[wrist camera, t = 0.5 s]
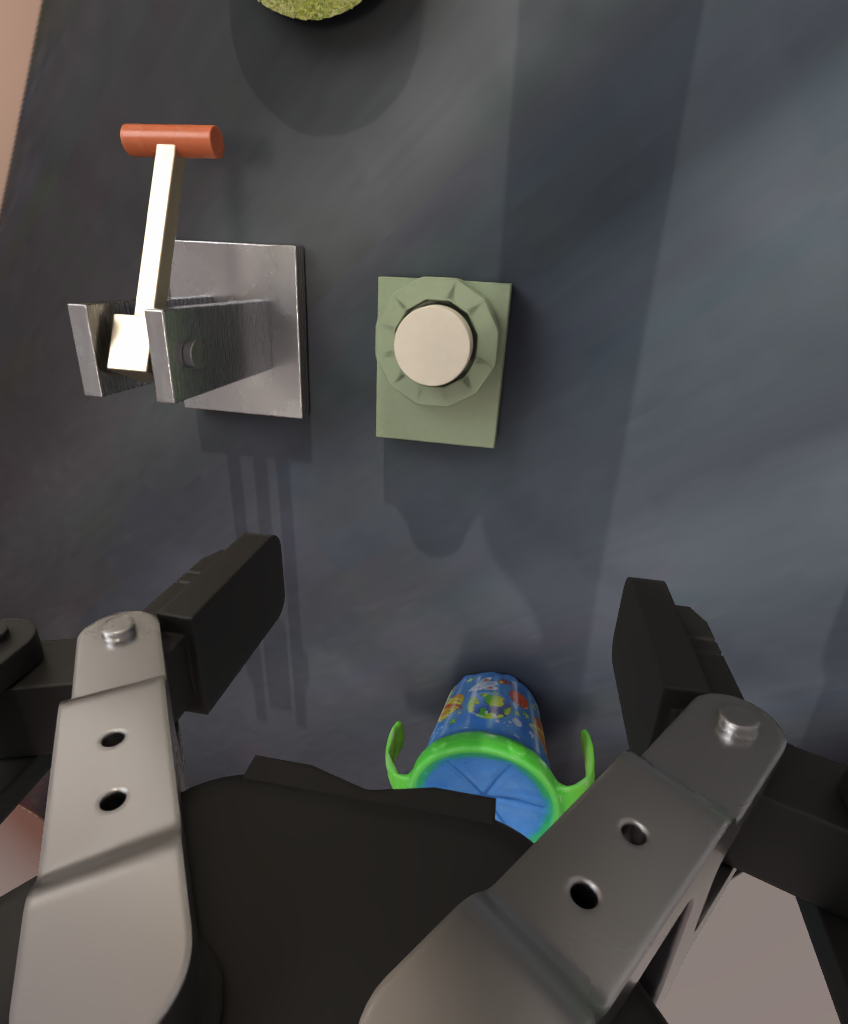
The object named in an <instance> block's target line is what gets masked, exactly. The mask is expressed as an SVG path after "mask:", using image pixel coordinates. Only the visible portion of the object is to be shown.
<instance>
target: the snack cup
mask: <svg viewBox="0 0 848 1024" xmlns="http://www.w3.org/2000/svg"><path fill="white" fill-rule="evenodd" d="M580 737H581V745H582V750H583V755H584V758H585V773H586V777H585V778H584V779H582V780H581V781H579V782H578V783H576V784H575V785H571V786H565V785H563V784H561V783H559V782H558V781H557V780H556V778H555V777H554V775H553V773H552V772H551V769H550V763H549V759H548V753H547V748H546V743H545V738H544V733H543V728H542V724H541V721H540V714H539V710H538V706H537V703H536V702H535V699H534V697H533V696H532V694H531V692H530V691H529V690H528V688H527V687H525V685H523V684H522V683H520V682H519V681H518V680H517V679H516V678H515V677H513V676H511V675H508V674H505V675H503V674H499V673H496V672H485V673H479V674H476V675H466V676H464V678H463V679H462V680H461V681H460V682H459V683H458V684H457V685H456V686H455V687H454V688H453V689H452V691H451V692H450V694H449V696H448V699H447V701H446V703H445V705H444V708H443V710H442V712H441V715H440V717H439V719H438V722H437V724H436V727H435V729H434V731H433V733H432V735H431V738H430V741H429V743H428V746H427V748H426V749H425V750H424V751H423V752H422V753H421V755H420V756H419V758H418V759H417V761H416V763H415V765H414V768H413V770H412V771H411V772H410V773H409V774H405V775H400V774H398V772H397V770H396V768H395V766H394V763H395V761H396V759H397V756H398V754H399V753H400V751H401V749H402V747H403V743H404V739H405V738H404V728H403V725H402V723H401V722H399V721H398V722H396V723H395V725H394V726H393V727H392V729H391V732H390V734H389V737H388V741H387V746H386V757H385V760H386V767H387V771H388V777H389V780H390V783H391V786H392V788H393V789H407V788H428V787H436V788H441V789H447V790H452V791H458V792H464V793H469V794H475V795H480V796H486V797H492V798H496V811H495V820H497V821H499V822H501V823H504V824H506V825H508V826H509V827H511V828H513V829H515V830H516V831H518V832H520V833H521V834H523V835H524V836H525V837H527V838H528V839H529V840H531V841H532V842H533V843H535V842H536V841H537V840H538V839H539V838H540V837H541V836H542V835H543V834H544V833H545V832H546V831H547V830H548V829H549V828H550V827H551V826H552V825H553V824H554V823H555V822H556V821H557V820H558V819H559V818H560V817H561V816H562V815H563V814H564V812H565V811H566V810H567V809H568V808H569V807H570V806H571V805H572V804H573V803H574V802H575V801H576V800H577V799H578V798H579V797H580V796H581V795H582V794H583V793H584V792H585V791H586V790H587V789H588V788H589V787H590V786H591V785H592V784H593V783H594V778H595V772H594V763H595V759H594V750H593V745H592V741H591V738H590V735H589V733H588V731H587V730H586V729H583V730H582V731H581V736H580Z"/></svg>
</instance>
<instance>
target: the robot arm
mask: <svg viewBox="0 0 848 1024" xmlns="http://www.w3.org/2000/svg"><path fill="white" fill-rule="evenodd" d="M284 598H285V589H284V577H283V565H282V553H281V544H280V540H279V538H278V537H277V536H274V535H265V534H256V533H244V534H242V535H241V536H240V537H239V538H238V539H237V540H236V541H235V542H234V543H233V544H231V545H230V546H229V547H228V548H227V549H226V550H220V551H218V552H216V553H214V554H211V555H209V556H207V557H205V558H203V559H201V560H200V561H199V562H198V563H197V564H196V565H194V566H193V567H192V568H191V569H190V570H189V572H188V573H185V574H184V575H183V576H182V577H181V578H180V579H178V582H177V583H174V584H173V585H172V586H170V587H169V588H168V589H167V590H166V591H165V592H164V593H162V594H161V595H160V596H159V597H158V598H157V599H156V600H154V601H153V602H152V603H151V604H150V605H149V606H148V607H146V608H145V609H144V610H143V611H142V612H141V611H128V612H121V613H116V614H112V615H109V616H106V617H104V618H101V619H99V620H97V621H95V622H93V623H92V624H90V625H89V626H87V627H86V628H85V629H84V630H83V631H82V632H81V633H80V635H79V636H78V639H64V640H50V641H40V638H39V635H38V632H37V628H36V625H35V624H34V623H33V622H32V621H30V620H27V619H23V618H5V619H0V824H1V823H2V822H3V821H4V820H5V819H6V817H7V816H8V815H9V814H10V813H11V812H12V811H13V810H14V809H15V807H16V806H17V805H18V804H19V803H20V802H21V801H22V800H23V798H24V797H25V796H26V795H27V794H28V793H29V792H30V791H31V789H32V788H33V787H34V786H35V785H36V784H37V783H38V782H39V780H40V779H41V778H42V777H43V776H44V775H45V774H46V773H47V772H48V770H49V769H50V768H51V772H50V781H49V789H48V797H47V805H46V813H45V822H44V830H43V838H42V847H41V855H40V863H39V871H38V875H37V876H36V877H34V878H32V879H30V880H29V881H27V882H25V883H24V884H22V885H20V886H19V887H17V888H15V889H13V890H11V891H10V892H8V893H6V894H5V895H3V896H1V897H0V1024H668V1023H667V1021H666V1020H665V1018H664V1017H663V1015H662V1014H661V1013H660V1011H659V1009H660V1007H661V1005H662V1003H663V1002H664V1000H665V998H666V996H667V994H668V992H669V990H670V988H671V986H672V985H673V983H674V980H675V978H676V976H677V974H678V972H679V970H680V967H681V966H682V964H683V962H684V960H685V958H686V955H687V954H688V952H689V950H690V948H691V946H692V944H693V943H694V941H695V939H696V938H697V936H698V934H699V933H700V931H701V929H702V928H703V926H704V924H705V922H706V921H707V919H708V917H709V916H710V914H711V912H712V910H713V909H714V907H715V905H716V904H717V902H718V900H719V898H720V897H721V895H722V893H723V892H724V890H725V888H726V887H727V885H728V883H729V881H730V880H731V878H732V876H733V875H734V873H735V871H736V869H738V870H741V871H743V872H745V873H747V874H749V875H751V876H753V877H756V878H758V879H760V880H762V881H764V882H767V883H768V884H771V885H773V886H775V887H777V888H779V889H781V890H783V891H786V892H788V893H790V894H792V895H794V896H796V899H797V902H798V904H799V907H800V910H801V913H802V916H803V919H804V922H805V924H806V927H807V930H808V933H809V936H810V939H811V941H812V944H813V947H814V950H815V953H816V955H817V958H818V961H819V964H820V967H821V969H822V972H823V975H824V978H825V981H826V983H827V986H828V989H829V992H830V995H831V998H832V1000H833V1003H834V1006H835V1009H836V1012H837V1014H838V1017H839V1020H840V1023H841V1024H848V765H847V766H845V765H842V764H840V763H837V762H834V761H831V760H829V759H826V758H823V757H820V756H818V755H815V754H812V753H809V752H807V751H804V750H802V749H799V748H797V747H795V746H793V745H791V744H789V743H787V742H786V737H785V734H784V732H783V730H782V728H781V727H780V726H779V724H778V723H777V722H776V721H775V720H774V719H773V718H772V717H771V716H770V715H769V714H767V713H766V712H765V711H763V710H762V709H760V708H759V707H757V706H755V705H754V704H752V703H750V702H748V701H745V700H744V698H743V696H742V694H741V692H740V690H739V688H738V686H737V684H736V682H735V680H734V678H733V676H732V673H731V671H730V669H729V667H728V665H727V663H726V661H725V659H724V657H723V656H721V651H720V649H719V647H718V645H717V643H716V642H715V641H714V640H715V639H714V637H713V634H712V632H711V630H710V628H709V626H708V624H707V622H706V621H704V620H703V619H702V618H701V617H700V616H699V615H698V614H697V613H695V612H694V611H693V610H692V609H691V608H690V607H686V606H677V605H675V604H674V601H673V599H672V597H671V594H670V592H669V589H668V587H667V585H666V583H665V582H664V581H659V580H650V579H641V578H633V577H628V578H627V580H626V582H625V585H624V589H623V594H622V599H621V603H620V608H619V613H618V618H617V623H616V627H615V632H614V637H613V646H612V662H613V669H614V674H615V679H616V684H617V689H618V694H619V699H620V704H621V709H622V714H623V719H624V724H625V729H626V734H627V739H628V744H629V749H630V750H627V751H625V752H624V753H622V754H621V755H620V756H619V757H618V758H617V759H616V760H615V761H614V762H613V763H612V764H611V765H610V766H609V767H608V769H607V770H606V771H605V772H604V773H603V774H602V775H601V776H600V777H599V778H598V779H597V780H596V781H595V782H594V783H593V784H592V785H591V786H590V787H589V788H588V789H587V790H586V791H585V792H584V793H583V794H582V795H581V796H580V797H579V798H578V799H577V800H576V801H575V802H574V803H573V804H572V805H571V806H570V807H569V808H568V809H567V810H566V811H565V812H564V814H563V815H562V816H561V817H560V818H559V819H558V820H557V821H556V822H555V823H554V824H553V825H552V826H551V827H550V828H549V829H548V830H547V831H546V832H545V833H544V834H543V835H542V836H541V837H540V838H539V839H538V840H537V841H536V842H535V843H533V842H532V841H531V840H529V839H528V838H527V837H525V836H524V835H523V834H521V833H520V832H518V831H516V830H515V829H513V828H511V827H509V826H508V825H506V824H504V823H501V822H499V821H497V820H495V811H496V798H492V797H486V796H480V795H475V794H469V793H464V792H458V791H452V790H447V789H441V788H436V787H428V788H407V789H387V790H367V789H364V788H361V787H359V786H356V785H354V784H352V783H350V782H348V781H345V780H343V779H341V778H339V777H336V776H334V775H332V774H330V773H328V772H325V771H323V770H321V769H319V768H317V767H314V766H312V765H307V764H302V763H296V762H290V761H285V760H279V759H274V758H268V757H263V756H257V755H255V757H254V759H253V761H252V762H251V764H250V766H249V768H248V769H247V771H246V773H245V774H244V775H235V776H228V777H222V778H219V779H215V780H211V781H207V782H205V783H202V784H199V785H196V786H194V787H191V788H189V789H188V782H187V775H186V768H185V761H184V754H183V746H182V739H181V732H180V727H179V721H178V719H179V718H180V717H181V715H182V714H183V713H184V712H185V711H189V712H195V713H200V714H206V715H208V714H209V712H210V711H211V709H212V708H213V707H214V705H215V704H216V703H217V701H218V700H219V698H220V697H221V696H222V694H223V693H224V692H225V690H226V689H227V688H228V686H229V685H230V683H231V682H232V681H233V679H234V678H235V677H236V675H237V674H238V673H239V671H240V670H241V668H242V667H243V666H244V664H245V663H246V662H247V660H248V659H249V658H250V656H251V655H252V653H253V652H254V651H255V649H256V648H257V647H258V645H259V644H260V642H261V641H262V640H263V638H264V637H265V636H266V634H267V633H268V632H269V630H270V629H271V627H272V626H273V625H274V623H275V622H276V621H277V619H278V618H279V616H280V614H281V612H282V609H283V605H284Z"/></svg>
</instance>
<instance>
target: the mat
mask: <svg viewBox="0 0 848 1024" xmlns="http://www.w3.org/2000/svg"><path fill="white" fill-rule="evenodd" d="M257 1H258V2H260V1H261V2H262V5H264V6H266V7H268V8H270V9H271V10H273V11H276V12H278V13H280V14H283V15H285V16H289V17H291V18H293V19H294V18H298V19H300V20H305V21H307V19H311V20H322V19H323V18H331V17H333V16H334V15H338V14H342V13H343V12H345V11H347V10H349V9H352V8H353V7H354V6H356V5H357V4H359V3H360V2H361V1H362V0H257Z"/></svg>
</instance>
